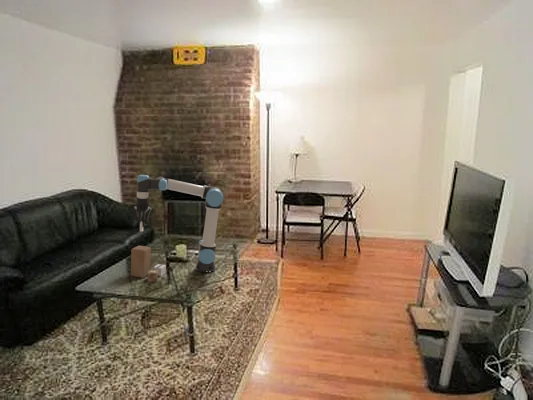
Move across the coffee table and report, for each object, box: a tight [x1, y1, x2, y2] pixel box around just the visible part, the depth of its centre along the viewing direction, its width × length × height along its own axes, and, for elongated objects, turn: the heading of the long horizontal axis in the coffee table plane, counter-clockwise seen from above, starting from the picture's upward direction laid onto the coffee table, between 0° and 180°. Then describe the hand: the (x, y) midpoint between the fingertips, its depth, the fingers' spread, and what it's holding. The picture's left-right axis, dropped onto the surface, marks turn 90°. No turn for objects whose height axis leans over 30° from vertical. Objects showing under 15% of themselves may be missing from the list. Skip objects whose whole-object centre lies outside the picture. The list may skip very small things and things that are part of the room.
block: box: [130, 245, 152, 279], centre depth 261 cm, size 10×10×20 cm
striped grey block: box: [153, 263, 167, 277], centre depth 267 cm, size 6×7×6 cm
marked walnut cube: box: [147, 269, 159, 283], centre depth 255 cm, size 6×6×6 cm
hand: (141, 231), depth 257 cm, fingers closed
